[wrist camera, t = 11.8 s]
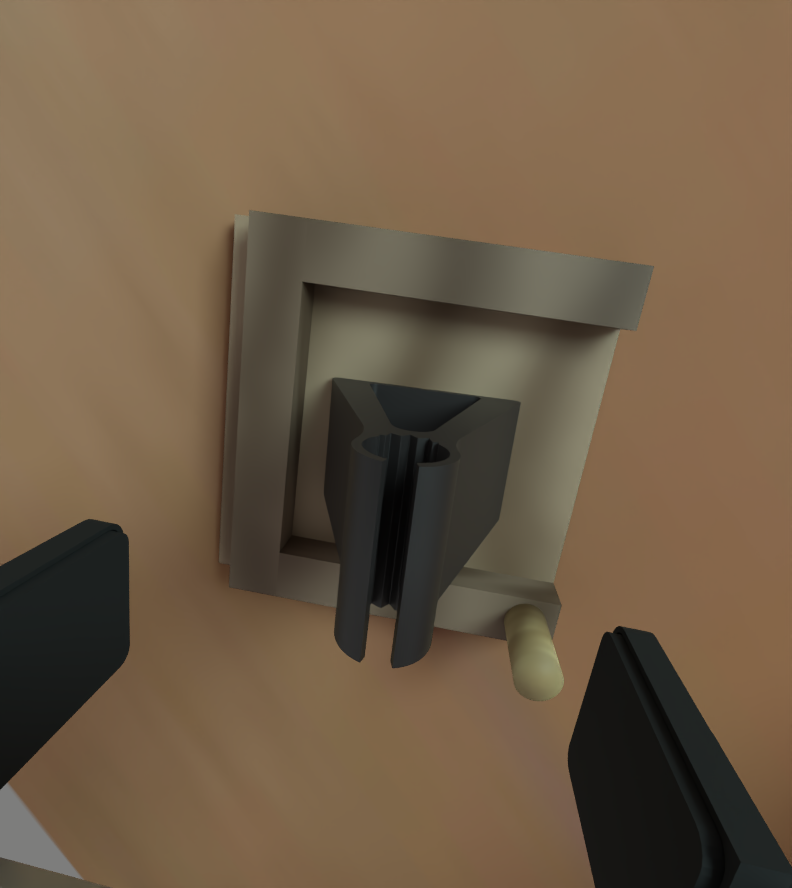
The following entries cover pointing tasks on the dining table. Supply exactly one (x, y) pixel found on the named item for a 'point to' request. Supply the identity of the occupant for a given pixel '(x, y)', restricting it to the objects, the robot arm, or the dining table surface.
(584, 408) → the board
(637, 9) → the dining table surface
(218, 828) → the dining table surface
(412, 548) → the phone stand
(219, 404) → the dining table surface
